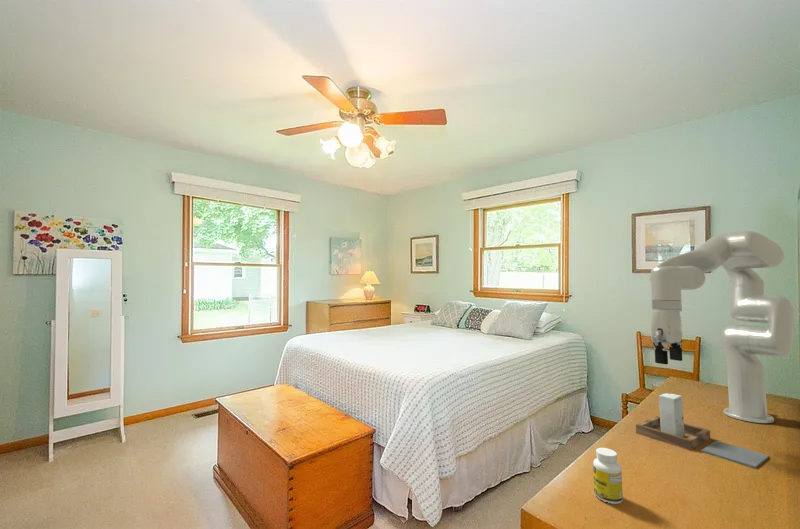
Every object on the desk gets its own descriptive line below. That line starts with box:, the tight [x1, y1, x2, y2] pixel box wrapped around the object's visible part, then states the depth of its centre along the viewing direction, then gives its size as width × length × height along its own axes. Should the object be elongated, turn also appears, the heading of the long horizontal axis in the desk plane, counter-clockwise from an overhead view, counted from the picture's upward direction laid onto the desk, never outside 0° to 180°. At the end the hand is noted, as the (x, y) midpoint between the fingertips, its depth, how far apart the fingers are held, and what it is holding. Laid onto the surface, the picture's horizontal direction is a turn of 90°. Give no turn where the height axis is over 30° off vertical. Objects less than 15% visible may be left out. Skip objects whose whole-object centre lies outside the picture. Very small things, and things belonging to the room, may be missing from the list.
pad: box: [701, 440, 770, 470], centre depth 98 cm, size 11×11×1 cm
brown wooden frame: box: [635, 415, 711, 451], centre depth 111 cm, size 14×14×2 cm
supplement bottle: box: [592, 447, 624, 505], centre depth 79 cm, size 5×5×10 cm
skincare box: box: [658, 392, 686, 438], centre depth 111 cm, size 6×4×12 cm
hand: (668, 361), depth 112 cm, fingers open, 9 cm apart
